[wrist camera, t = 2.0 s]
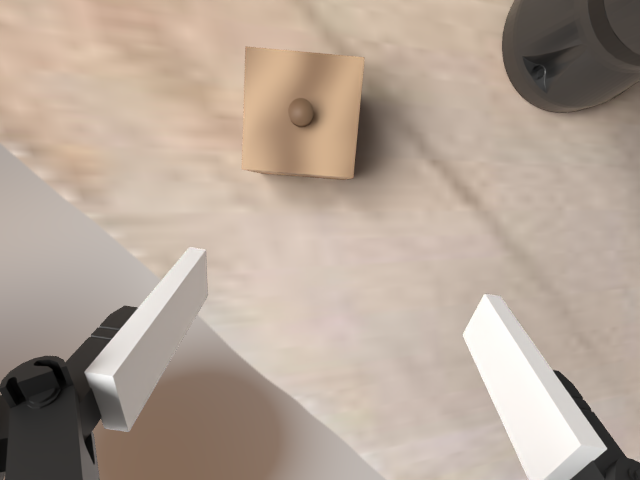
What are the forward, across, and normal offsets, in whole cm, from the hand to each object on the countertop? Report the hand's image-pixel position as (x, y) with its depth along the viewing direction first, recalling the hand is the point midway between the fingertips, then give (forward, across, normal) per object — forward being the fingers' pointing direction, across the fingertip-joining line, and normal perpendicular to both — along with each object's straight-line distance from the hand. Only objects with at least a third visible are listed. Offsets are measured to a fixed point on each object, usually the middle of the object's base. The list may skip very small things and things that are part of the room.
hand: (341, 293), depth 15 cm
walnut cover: (+24, +4, -2) cm, 25 cm away
